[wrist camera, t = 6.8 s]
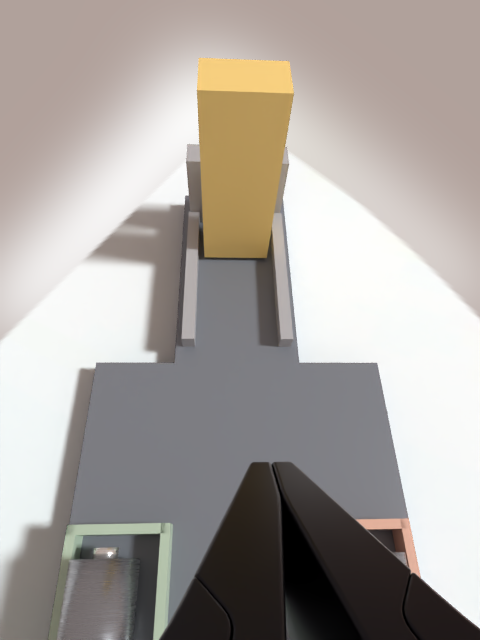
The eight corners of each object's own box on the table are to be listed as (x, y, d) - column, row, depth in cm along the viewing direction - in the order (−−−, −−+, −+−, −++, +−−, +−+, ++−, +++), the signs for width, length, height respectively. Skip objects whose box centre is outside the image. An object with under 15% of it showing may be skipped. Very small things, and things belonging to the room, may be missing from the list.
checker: (449, 777, 16) (563, 885, 11) (32, 798, 15) (-67, 927, 10) (340, 209, 31) (365, 138, 26) (127, 204, 30) (108, 131, 25)
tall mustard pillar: (266, 258, 26) (293, 93, 17) (204, 257, 26) (197, 90, 17) (264, 229, 28) (289, 61, 18) (205, 228, 27) (198, 57, 18)
